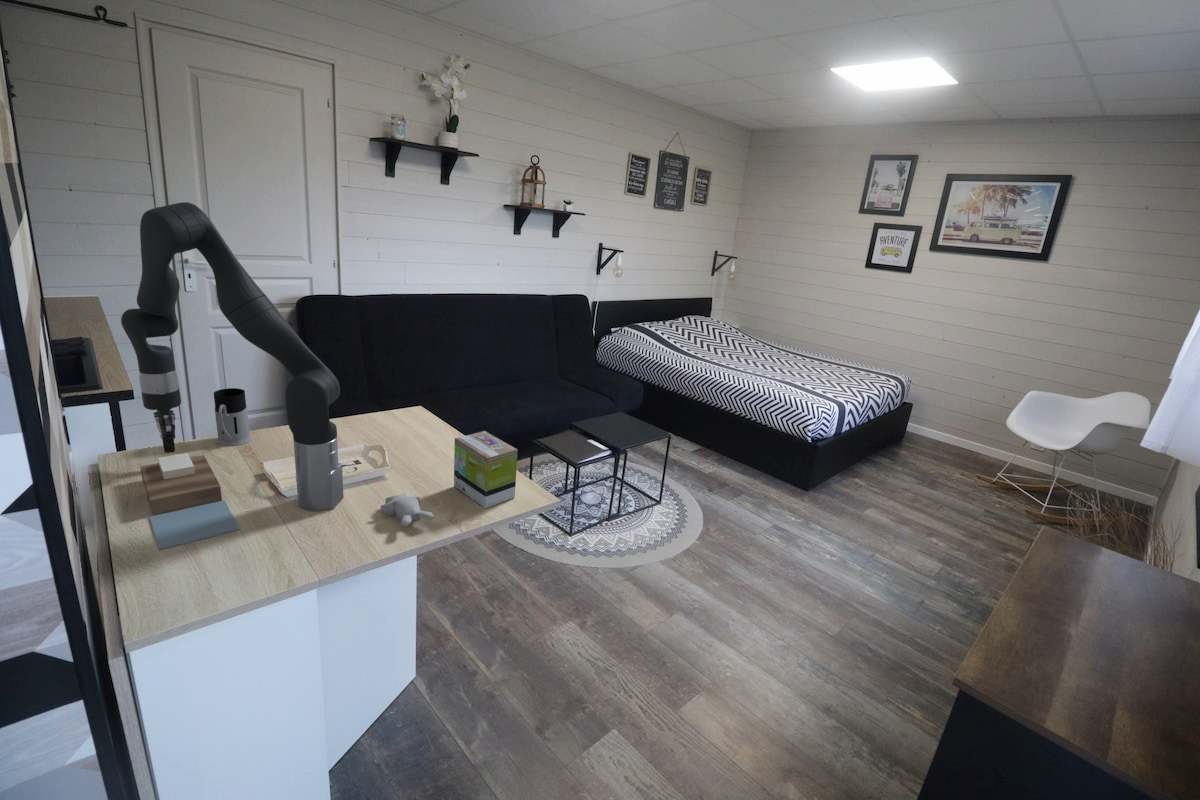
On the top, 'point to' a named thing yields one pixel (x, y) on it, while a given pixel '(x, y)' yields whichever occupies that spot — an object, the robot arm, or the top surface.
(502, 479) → the tea box
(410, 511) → the grey animal figure
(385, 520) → the top surface
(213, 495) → the deck
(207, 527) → the mat
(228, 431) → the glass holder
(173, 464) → the white rectangular block
